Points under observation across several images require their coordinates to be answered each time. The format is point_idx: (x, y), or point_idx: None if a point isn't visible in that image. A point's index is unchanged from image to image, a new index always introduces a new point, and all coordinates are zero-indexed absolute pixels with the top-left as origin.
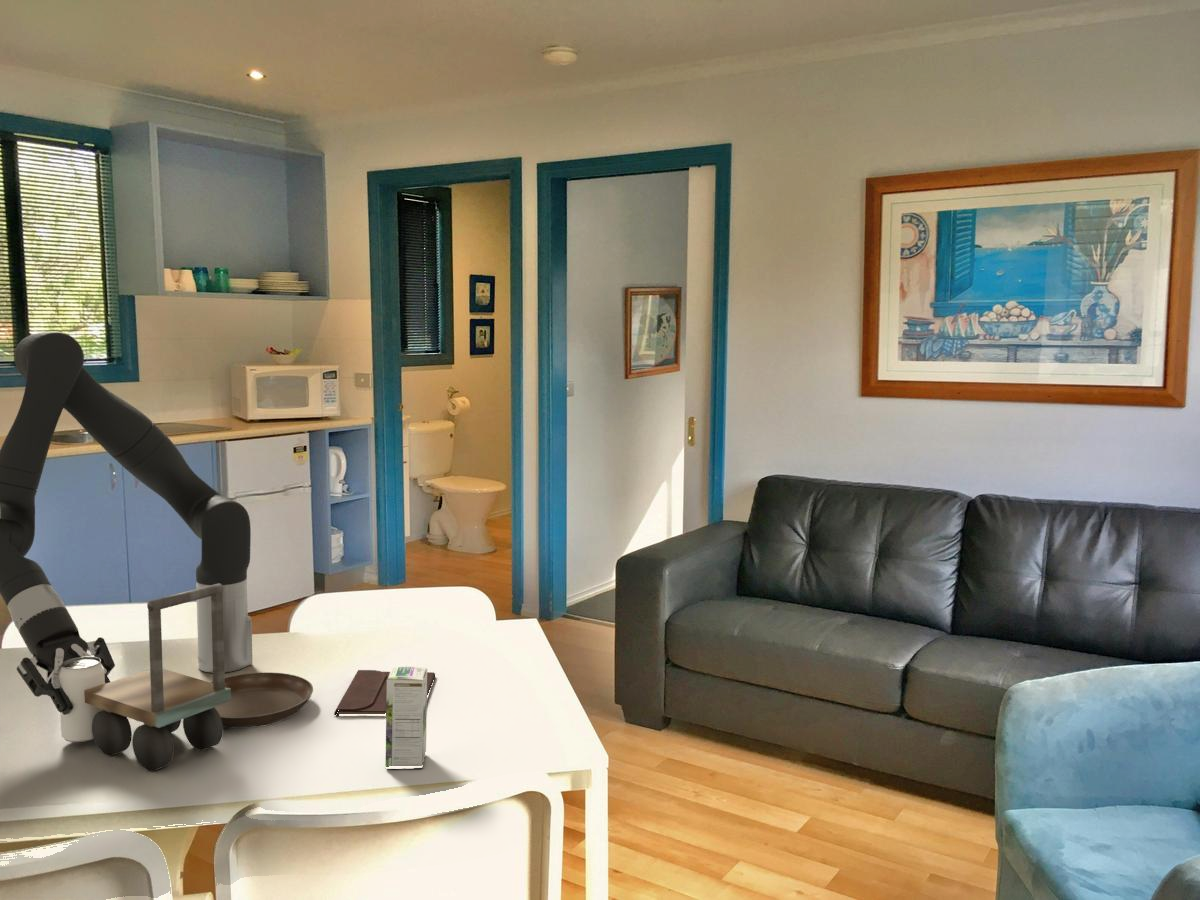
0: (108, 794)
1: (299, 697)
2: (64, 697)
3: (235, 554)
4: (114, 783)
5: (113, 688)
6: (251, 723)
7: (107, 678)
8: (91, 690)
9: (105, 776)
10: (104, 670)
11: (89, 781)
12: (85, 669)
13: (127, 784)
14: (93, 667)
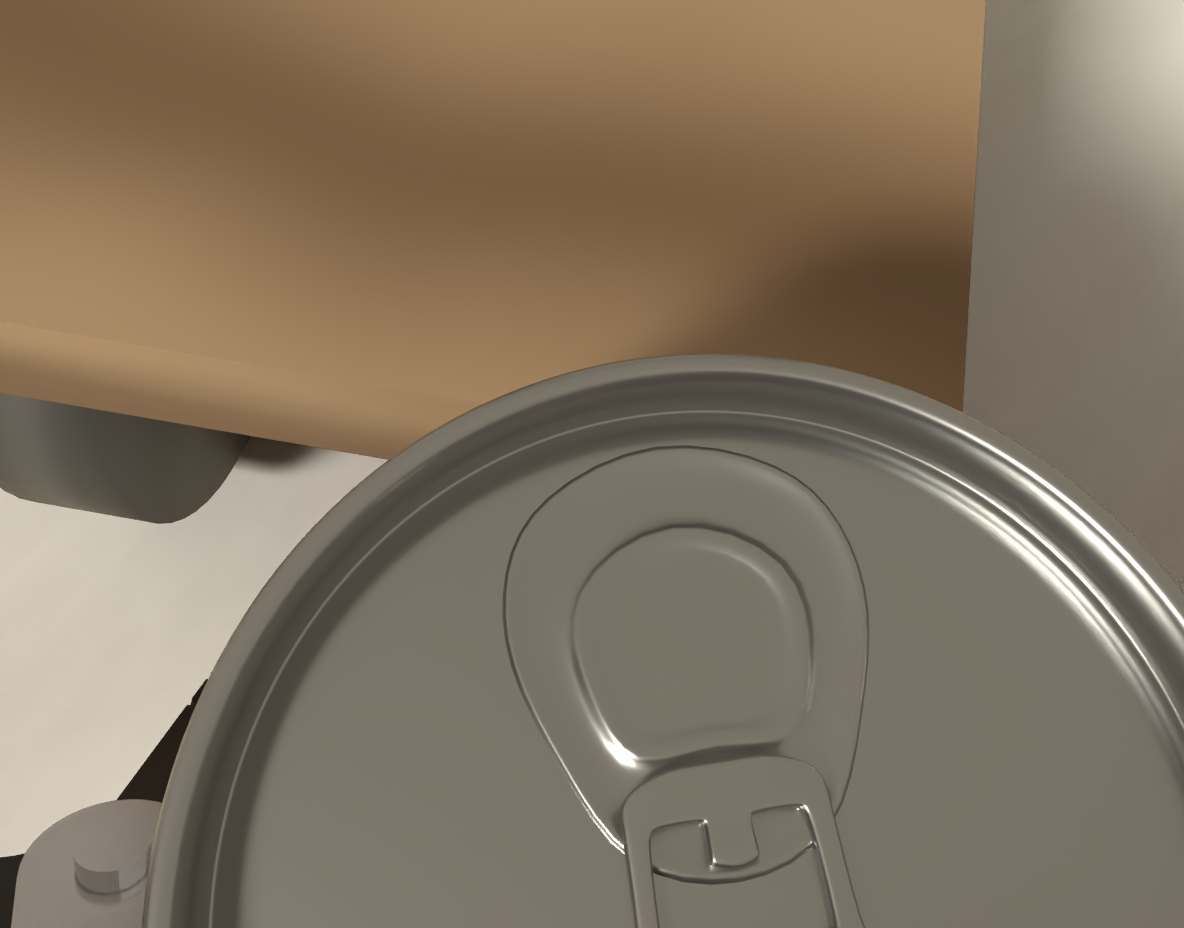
0: (1150, 33)
1: None
2: None
3: None
4: (1030, 103)
5: (670, 152)
6: None
7: (155, 777)
8: (895, 379)
9: (992, 220)
10: (92, 833)
11: (1102, 255)
12: (952, 451)
13: (995, 31)
14: (742, 394)
